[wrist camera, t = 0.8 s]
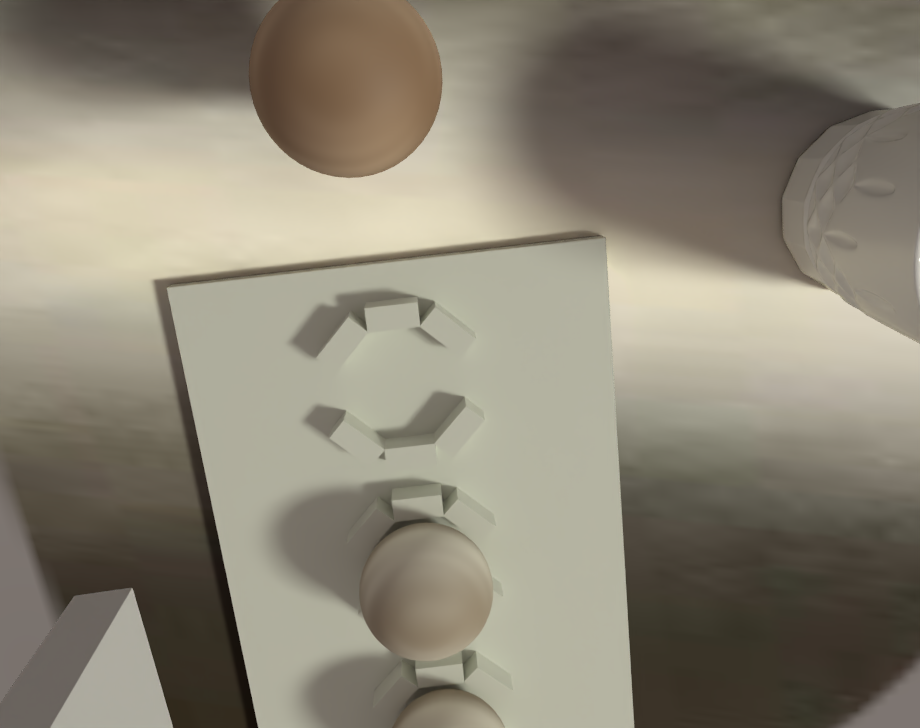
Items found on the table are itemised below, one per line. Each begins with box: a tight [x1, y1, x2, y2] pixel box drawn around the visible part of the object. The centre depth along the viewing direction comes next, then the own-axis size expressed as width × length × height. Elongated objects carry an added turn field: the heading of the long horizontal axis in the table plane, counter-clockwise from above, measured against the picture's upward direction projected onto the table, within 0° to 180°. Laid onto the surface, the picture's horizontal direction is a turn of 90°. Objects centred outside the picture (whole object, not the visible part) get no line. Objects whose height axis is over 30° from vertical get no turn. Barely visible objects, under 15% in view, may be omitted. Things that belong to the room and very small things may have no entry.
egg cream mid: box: [359, 523, 493, 661], centre depth 32 cm, size 5×5×5 cm
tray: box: [167, 236, 634, 728], centre depth 34 cm, size 24×16×2 cm, turn 6°
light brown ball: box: [249, 0, 442, 178], centre depth 22 cm, size 5×5×5 cm
